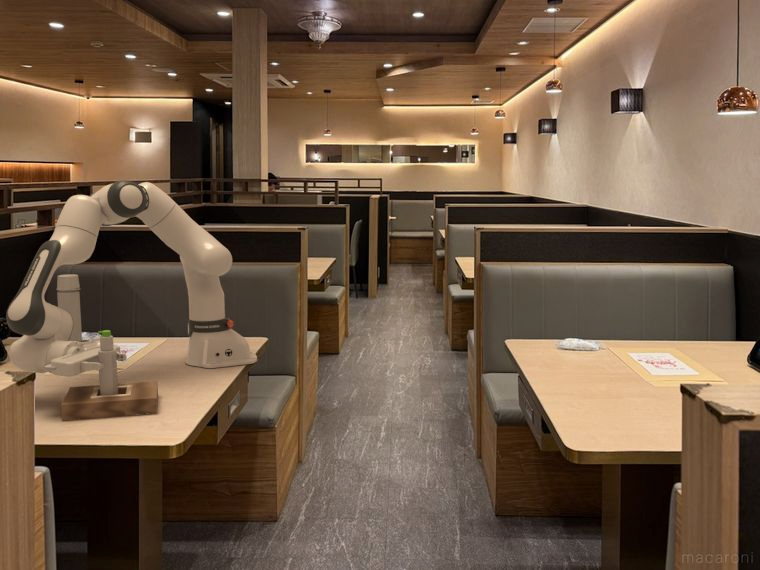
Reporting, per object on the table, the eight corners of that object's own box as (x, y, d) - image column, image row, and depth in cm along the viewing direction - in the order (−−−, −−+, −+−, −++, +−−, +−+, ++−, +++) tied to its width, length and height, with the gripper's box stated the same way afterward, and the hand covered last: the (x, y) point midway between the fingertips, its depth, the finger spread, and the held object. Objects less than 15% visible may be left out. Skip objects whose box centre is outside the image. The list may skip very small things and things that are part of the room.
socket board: (158, 395, 200) (157, 380, 199) (156, 413, 184) (156, 396, 184) (70, 401, 194) (69, 386, 193) (62, 420, 178) (61, 403, 178)
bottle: (102, 405, 191) (99, 329, 188) (120, 404, 192) (116, 329, 189) (99, 410, 187) (95, 332, 184) (117, 409, 187) (113, 332, 184)
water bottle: (78, 348, 255) (74, 277, 251) (55, 348, 255) (51, 276, 251) (89, 342, 264) (85, 273, 260) (67, 342, 264) (63, 273, 260)
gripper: (37, 355, 180) (85, 359, 177) (92, 338, 200) (136, 341, 196) (39, 380, 181) (87, 384, 178) (93, 361, 201) (137, 364, 197)
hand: (113, 361), depth 187 cm, fingers open, 8 cm apart
